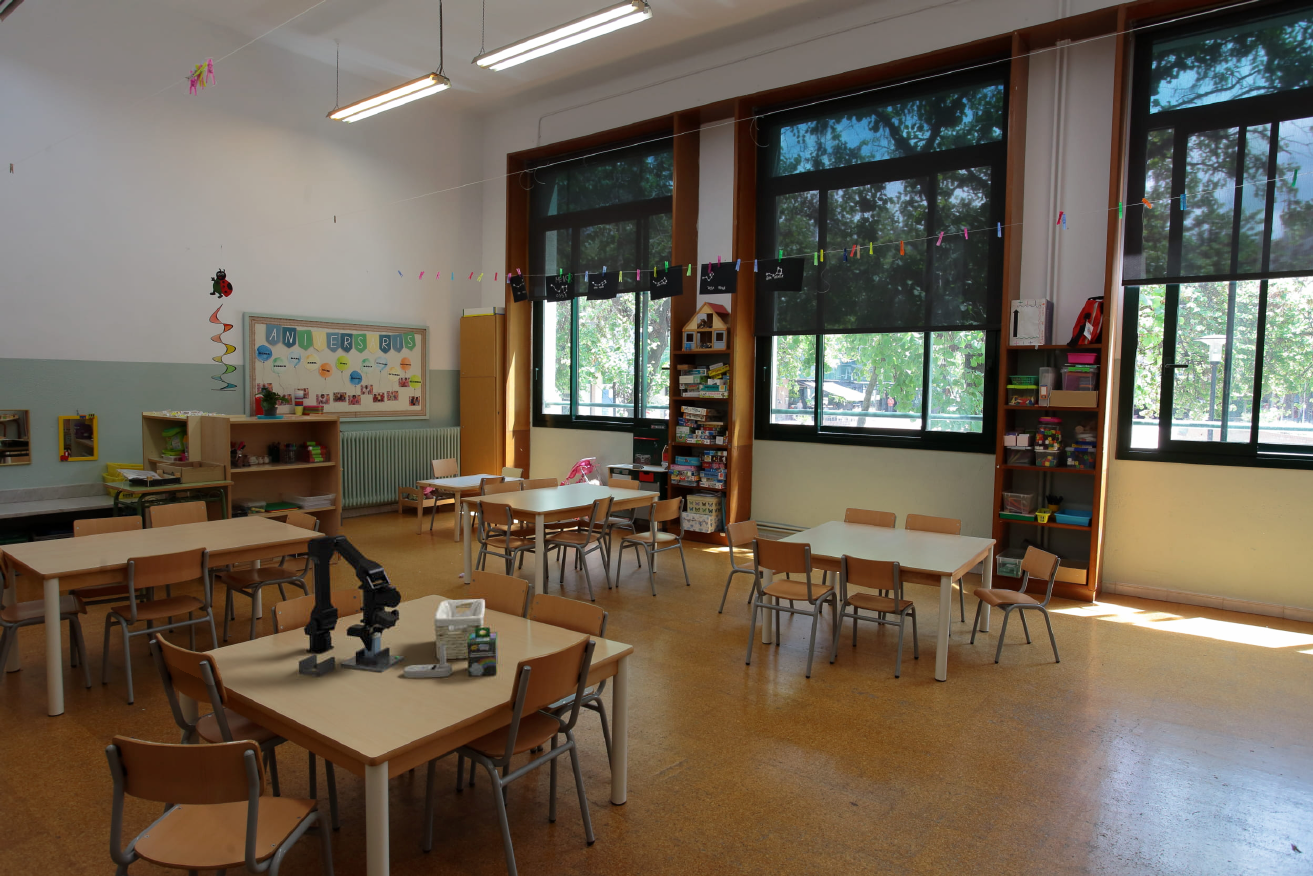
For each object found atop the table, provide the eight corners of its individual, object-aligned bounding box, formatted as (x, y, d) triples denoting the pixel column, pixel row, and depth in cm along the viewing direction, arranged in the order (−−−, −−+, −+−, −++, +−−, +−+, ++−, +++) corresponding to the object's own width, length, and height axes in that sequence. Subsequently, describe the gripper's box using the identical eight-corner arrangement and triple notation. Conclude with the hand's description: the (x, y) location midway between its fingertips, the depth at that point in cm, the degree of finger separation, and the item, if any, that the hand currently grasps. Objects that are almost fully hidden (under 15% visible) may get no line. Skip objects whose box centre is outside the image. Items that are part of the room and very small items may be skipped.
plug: (364, 658, 255) (364, 634, 255) (370, 655, 258) (370, 631, 258) (375, 659, 254) (374, 635, 254) (380, 656, 257) (380, 632, 257)
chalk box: (498, 665, 256) (498, 621, 255) (496, 675, 247) (496, 630, 246) (469, 666, 254) (469, 622, 253) (467, 677, 245) (467, 631, 244)
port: (340, 666, 253) (340, 653, 253) (363, 654, 264) (363, 641, 264) (382, 672, 248) (382, 658, 248) (404, 659, 260) (404, 646, 260)
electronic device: (405, 643, 249) (452, 642, 249) (407, 673, 249) (453, 671, 250) (400, 649, 243) (448, 647, 244) (402, 679, 244) (450, 678, 245)
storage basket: (440, 639, 282) (440, 599, 281) (486, 637, 285) (486, 597, 284) (433, 662, 258) (433, 618, 257) (482, 660, 261) (482, 617, 260)
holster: (298, 673, 246) (298, 661, 246) (314, 666, 253) (314, 654, 253) (320, 676, 244) (319, 664, 244) (335, 669, 251) (334, 657, 250)
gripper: (375, 613, 244) (375, 662, 245) (409, 598, 262) (410, 643, 263) (345, 610, 247) (345, 658, 248) (381, 595, 265) (382, 640, 266)
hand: (372, 649), depth 256 cm, fingers closed on plug, 3 cm apart
